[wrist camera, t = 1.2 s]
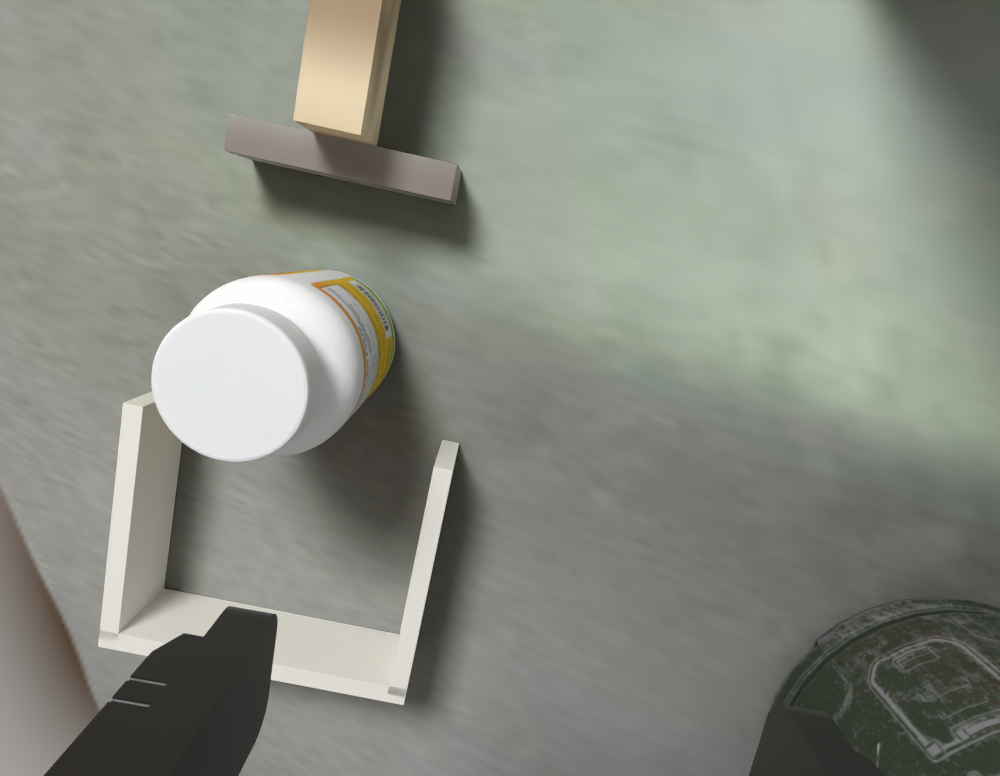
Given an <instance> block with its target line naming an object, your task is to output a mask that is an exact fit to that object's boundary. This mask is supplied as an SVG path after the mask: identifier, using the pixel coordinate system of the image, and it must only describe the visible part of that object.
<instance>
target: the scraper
mask: <svg viewBox="0 0 1000 776" xmlns="http://www.w3.org/2000/svg"><path fill="white" fill-rule="evenodd" d="M400 5H401V0H310V5H309V12H308V19H307V26H306V33H305V40H304V47H303V54H302V62H301V69H300V76H299V83H298V90H297V97H296V104H295V111H294V118H293V120H294V121H296V122H297V123H299V124H301V125H302V126H304V127H306V128H307V129H309V130H311V131H312V132H310V131H306V130H301V129H297V128H293V127H288V126H284V125H279V124H275V123H270V122H266V121H261V120H257V119H252V118H248V117H243V116H239V115H234V114H230V113H229V118H228V126H227V134H226V142H225V151H227V152H230V153H233V154H236V155H239V156H242V157H245V158H248V159H250V160H254V161H258V162H263V163H267V164H272V165H276V166H281V167H285V168H290V169H294V170H299V171H303V172H308V173H312V174H317V175H322V176H326V177H331V178H335V179H340V180H344V181H349V182H353V183H358V184H362V185H367V186H371V187H376V188H380V189H385V190H389V191H394V192H398V193H403V194H407V195H412V196H416V197H421V198H425V199H430V200H434V201H439V202H444V203H448V204H453V205H456V201H457V196H458V191H459V185H460V180H461V175H462V172H461V170H460V168H459V167H458V165H457V164H454V163H449V162H445V161H440V160H436V159H431V158H427V157H422V156H418V155H413V154H409V153H404V152H400V151H395V150H391V149H386V148H382V147H378V146H377V142H378V136H379V130H380V124H381V118H382V112H383V106H384V100H385V94H386V88H387V82H388V76H389V70H390V64H391V58H392V52H393V47H394V41H395V35H396V29H397V23H398V17H399V11H400Z"/></svg>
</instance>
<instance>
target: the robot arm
mask: <svg viewBox="0 0 1000 776" xmlns="http://www.w3.org/2000/svg"><path fill="white" fill-rule="evenodd" d="M277 625H278V619H277V615H276V614H272V613H267V612H261V611H255V610H250V609H244V608H238V607H233V606H228V607H227V608H226V609H225V610H224V611H223V612H222V613H221V615H220V616H219V617H218V619H217V620H216V621H215V622H214V624H213V625H212V626H211V628H210V629H209V630H208V631H207V633H206V634H205V635H204V637H203V636H197V635H192V634H186V633H183V634H181V635H180V636H178V637H176V638H174V639H173V640H171V641H169V642H167V643H166V644H164V645H162V646H161V647H159V648H157V649H155V650H154V651H152V652H151V653H150V654H149V656H148V657H147V658H146V659H145V660H144V661H143V662H142V664H141V665H140V666H139V667H138V668H137V669H136V670H135V672H134V673H133V674H132V675H131V677H130V680H129V681H126V682H125V683H124V684H123V685H122V686H121V688H120V689H119V690H118V691H117V692H116V693H115V695H114V696H113V698H112V700H111V702H108V703H107V704H106V705H105V706H104V707H103V708H102V709H101V711H100V712H99V713H98V714H97V715H96V716H95V718H94V719H93V720H92V721H91V722H90V723H89V724H88V726H87V727H86V728H85V729H84V730H83V731H82V733H81V734H80V735H79V736H78V737H77V738H76V739H75V740H74V742H73V743H72V744H71V745H70V746H69V747H68V749H67V750H66V751H65V752H64V753H63V754H62V755H61V756H60V758H59V759H58V760H57V761H56V762H55V763H54V764H53V766H52V767H51V768H50V769H49V770H48V771H47V773H46V774H45V775H44V776H238V775H239V773H240V771H241V769H242V767H243V765H244V763H245V761H246V759H247V757H248V755H249V753H250V751H251V749H252V748H253V746H254V743H255V741H256V739H257V737H258V734H259V731H260V728H261V725H262V722H263V719H264V715H265V712H266V707H267V702H268V696H269V689H270V681H271V673H272V665H273V657H274V650H275V642H276V634H277ZM749 776H886V775H885V774H884V773H883V772H882V771H881V770H880V769H879V768H877V767H876V766H875V765H874V764H873V763H872V762H871V761H870V760H869V759H867V758H866V757H865V756H864V755H863V754H862V753H860V752H855V751H854V749H853V748H852V746H851V745H850V743H849V742H848V740H847V739H846V737H845V736H844V734H843V733H842V732H841V730H840V729H839V727H838V726H837V724H836V723H835V721H834V720H833V718H832V717H831V716H830V715H829V714H828V713H826V712H822V711H816V710H811V709H805V708H799V707H794V706H788V705H782V704H777V705H775V706H773V708H772V709H771V710H770V712H769V714H768V717H767V720H766V723H765V727H764V730H763V733H762V736H761V739H760V742H759V745H758V749H757V752H756V755H755V758H754V761H753V764H752V767H751V771H750V774H749Z"/></svg>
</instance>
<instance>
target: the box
mask: <svg viewBox="0 0 1000 776" xmlns="http://www.w3.org/2000/svg"><path fill="white" fill-rule="evenodd" d="M458 446H459V443H456V442H451V441H446V440H442V443H441V446H440V449H439V452H438V455H437V458H436V461H435V465H434V468H433V473H432V478H431V483H430V488H429V493H428V498H427V503H426V507H425V512H424V517H423V522H422V527H421V532H420V537H419V542H418V547H417V552H416V557H415V561H414V566H413V571H412V576H411V581H410V586H409V591H408V596H407V601H406V606H405V611H404V615H403V620H402V625H401V630H400V634H395V633H389V632H384V631H379V630H374V629H369V628H364V627H359V626H354V625H349V624H343V623H338V622H333V621H328V620H323V619H318V618H313V617H308V616H303V615H298V614H292V613H287V612H282V611H277V610H272V609H267V608H262V607H257V606H252V605H246V604H241V603H236V602H231V601H226V600H221V599H216V598H211V597H206V596H201V595H195V594H190V593H185V592H180V591H175V590H170V589H165V588H164V586H165V578H166V570H167V561H168V553H169V545H170V537H171V529H172V521H173V513H174V504H175V496H176V488H177V480H178V472H179V464H180V456H181V447H182V442H181V441H180V440H179V439H178V438H177V437H176V436H175V435H174V434H173V433H172V431H171V430H170V429H169V428H168V426H167V425H166V424H165V422H164V421H163V419H162V417H161V415H160V413H159V411H158V409H157V406H156V403H155V400H154V396H153V391H152V392H149V393H147V394H144V395H142V396H139V397H137V398H134V399H131V400H129V401H126V402H124V403H123V411H122V421H121V430H120V440H119V450H118V459H117V469H116V479H115V489H114V498H113V508H112V518H111V527H110V537H109V547H108V557H107V566H106V576H105V586H104V595H103V605H102V615H101V624H100V634H99V644H98V647H103V648H108V649H114V650H119V651H124V652H129V653H134V654H140V655H145V656H149V654H150V653H151V652H152V651H154V650H155V649H157V648H159V647H161V646H162V645H164V644H166V643H167V642H169V641H171V640H173V639H174V638H176V637H178V636H180V635H181V634H183V633H186V634H192V635H197V636H203V637H204V635H205V634H206V633H207V631H208V630H209V629H210V628H211V626H212V625H213V624H214V622H215V621H216V620H217V619H218V617H219V616H220V615H221V613H222V612H223V611H224V610H225V609H226V608H227V607H228V606H233V607H238V608H244V609H250V610H255V611H261V612H267V613H272V614H276V615H277V619H278V625H277V634H276V642H275V650H274V657H273V665H272V673H271V680H275V681H280V682H286V683H291V684H296V685H301V686H306V687H312V688H317V689H322V690H327V691H332V692H338V693H343V694H348V695H353V696H359V697H364V698H369V699H374V700H379V701H385V702H390V703H395V704H400V705H404V701H405V696H406V692H407V687H408V683H409V678H410V674H411V669H412V665H413V660H414V656H415V651H416V646H417V641H418V637H419V632H420V627H421V622H422V618H423V613H424V608H425V603H426V599H427V594H428V589H429V584H430V580H431V575H432V570H433V565H434V561H435V556H436V551H437V546H438V542H439V537H440V532H441V527H442V522H443V518H444V513H445V508H446V503H447V499H448V494H449V489H450V484H451V480H452V475H453V470H454V465H455V461H456V456H457V451H458Z"/></svg>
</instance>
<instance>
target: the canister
mask: <svg viewBox="0 0 1000 776" xmlns="http://www.w3.org/2000/svg"><path fill="white" fill-rule="evenodd" d="M816 641H817V644H818V645H817V646H816V647H815V648H814V649H813V650H812V651H811V652H810V653H809V654H808V655H807V656H806V657H805V658H804V659H803V661H802V662H801V663H800V664H799V665H798V666H797V667H796V668H795V669H794V671H793V672H792V674H791V675H790V677H789V678H788V680H787V682H786V683H785V685H784V686H783V688H782V689H781V691H780V692H779V694H778V697H777V699H776V702H775V705H777V704H782V705H788V706H794V707H799V708H805V709H811V710H816V711H822V712H826V713H828V714H829V715H830V716H831V717H832V718H833V720H834V721H835V723H836V724H837V726H838V727H839V729H840V730H841V732H842V733H843V734H844V736H845V737H846V739H847V740H848V742H849V743H850V745H851V746H852V748H853V749H854V751H855V752H860V753H862V754H863V755H864V756H865V757H866V758H867V759H869V760H870V761H871V762H872V763H873V764H874V765H875V766H876V767H877V768H879V769H880V770H881V771H882V772H883V773H884V774H885V775H886V776H1000V608H997V607H993V606H989V605H985V604H981V603H977V602H973V601H969V600H954V599H936V598H916V599H907V600H898V601H893V602H890V603H886V604H883V605H880V606H876V607H873V608H870V609H867V610H864V611H862V612H860V613H858V614H856V615H854V616H852V617H850V618H848V619H846V620H844V621H842V622H840V623H838V624H837V625H836V626H834V627H833V628H832V629H830V630H829V631H828V632H826V633H825V634H824V635H822V636H821V637H820V638H818V639H817V640H816ZM775 705H774V706H775Z"/></svg>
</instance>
